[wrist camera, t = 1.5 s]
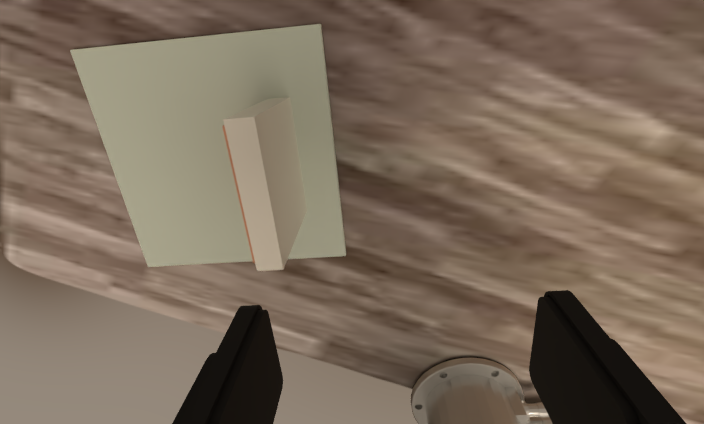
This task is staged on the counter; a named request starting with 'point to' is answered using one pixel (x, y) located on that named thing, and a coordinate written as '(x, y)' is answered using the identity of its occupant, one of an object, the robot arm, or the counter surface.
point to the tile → (267, 179)
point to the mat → (210, 137)
